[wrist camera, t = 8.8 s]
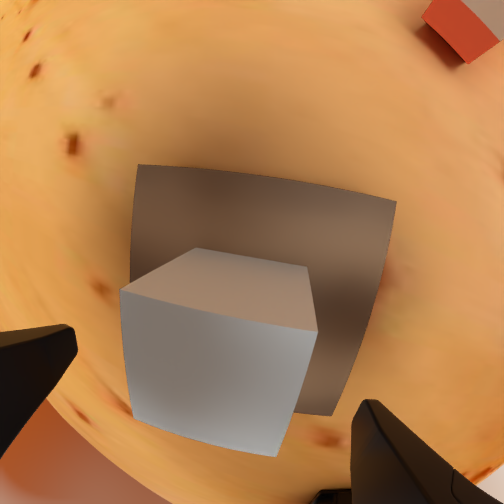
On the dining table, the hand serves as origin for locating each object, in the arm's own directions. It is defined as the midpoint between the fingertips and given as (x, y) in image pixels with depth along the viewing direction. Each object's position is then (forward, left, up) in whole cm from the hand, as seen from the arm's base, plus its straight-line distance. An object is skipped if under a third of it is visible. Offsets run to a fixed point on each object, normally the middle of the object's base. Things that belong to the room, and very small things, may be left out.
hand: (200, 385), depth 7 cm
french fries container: (+22, -13, -10) cm, 27 cm away
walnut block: (0, 0, -10) cm, 10 cm away
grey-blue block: (0, 0, -6) cm, 6 cm away
